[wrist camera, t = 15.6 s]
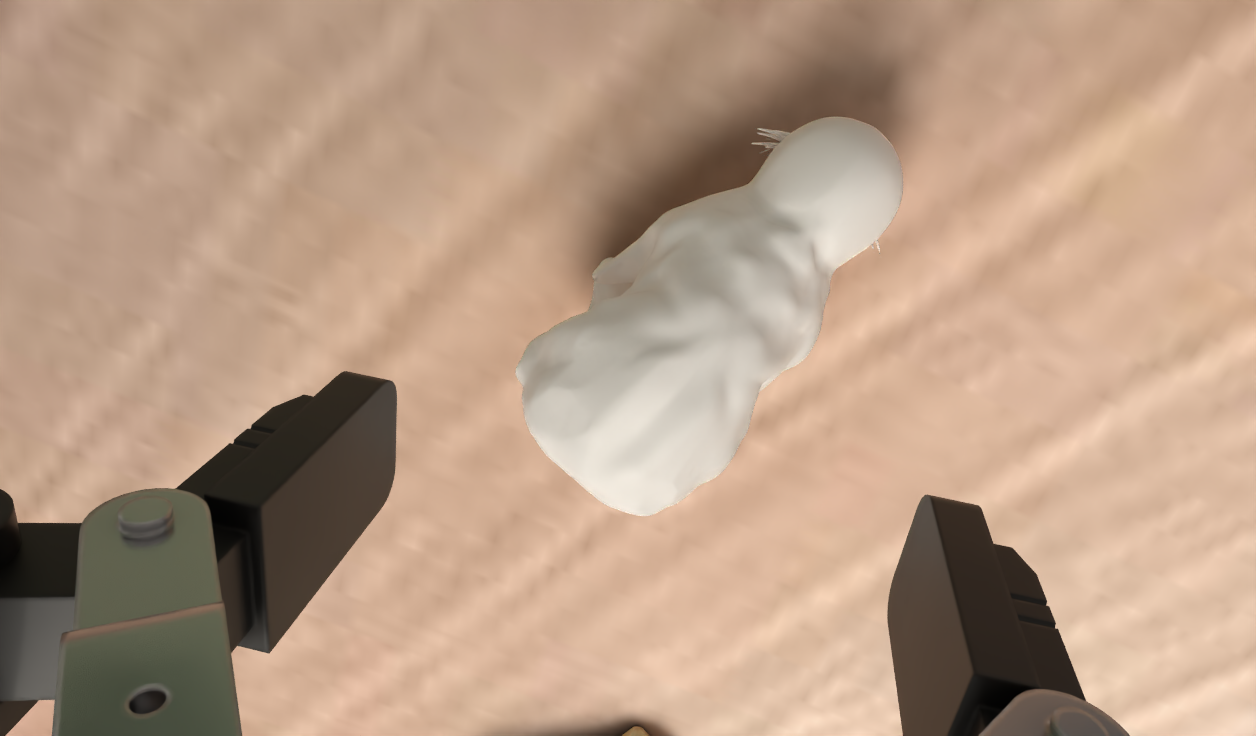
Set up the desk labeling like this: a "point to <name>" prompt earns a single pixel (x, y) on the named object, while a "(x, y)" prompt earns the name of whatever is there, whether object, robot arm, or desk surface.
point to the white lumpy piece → (705, 318)
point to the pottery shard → (636, 732)
